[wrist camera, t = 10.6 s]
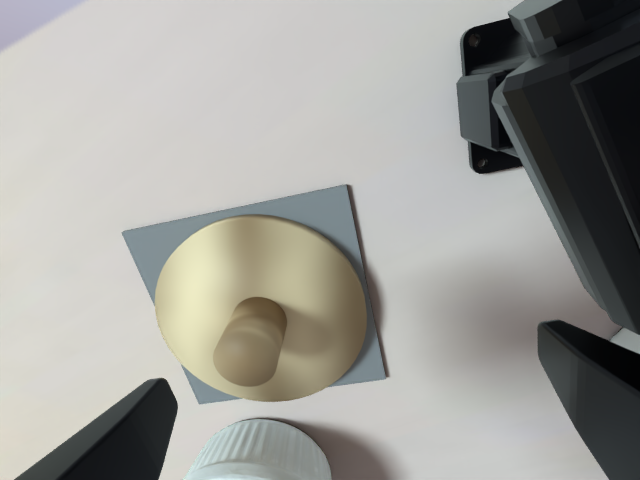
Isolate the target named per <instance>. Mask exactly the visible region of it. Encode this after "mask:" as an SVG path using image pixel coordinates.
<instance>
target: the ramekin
mask: <svg viewBox="0 0 640 480" xmlns="http://www.w3.org/2000/svg"><path fill="white" fill-rule="evenodd" d="M182 480H332V478H331V470H330V466H329V463H328V460H327V459H326V456H325V454H324V453H323V452H322V450H321V449H320V447H319V446H318V445H317V444H316V443H315V442H314V441H313V440H312V439H311V438H310V437H309V436H308V435H307V434H305V433H304V432H302V431H301V430H299V429H297V428H295V427H293V426H291V425H289V424H286V423H283V422H279V421H275V420H268V419H251V420H245V421H241V422H237V423H234V424H232V425H230V426H228V427H226V428H224V429H222V430H220V431H219V432H217V433H216V434H214V435H213V437H212V438H210V439H209V441H208V442H207V443H206V445H205V446H204V447H203V449H202V451H201V452H200V454H199V455H198V457H197V458H196V460H195V462H194V463H193V465H192V466H191V468H190V469H189V471H188V473H187V474H186V476H185V478H184V479H182Z"/></svg>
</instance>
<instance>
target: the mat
mask: <svg viewBox="0 0 640 480" xmlns="http://www.w3.org/2000/svg"><path fill="white" fill-rule="evenodd" d="M245 214H263V215H272V216H278V217H282V218H286V219H290V220H293V221H296V222H298V223H301V224H304V225H306V226H307V227H309V228H311V229H313V230H315V231H317V232H318V233H320V234H321V235H323V236H324V237H326V238H327V239H329V240H330V241H331V242H332V243H333V244H334V245H335V246H336V247H337V248H339V249H340V251H341V252H342V253H343V254H344V255H345V256H346V258H347V259H348V260H349V262H350V263H351V265H352V266H353V268H354V269H355V271H356V273H357V275H358V278H359V280H360V282H361V285H362V289H363V292H364V297H365V304H366V313H367V327H366V333H365V339H364V342H363V345H362V348H361V350H360V352H359V354H358V356H357V358H356V360H355V361H354V362H353V364H352V365H351V367H350V368H349V369H348V370H347V371H346V372H345V373H344V374H343V375H342V376H341V377H340V378H339V379H338V380H336V381H335V382H334V383H333V384H331V385H330V386H328V387H332V386H339V385H347V384H354V383H362V382H369V381H376V380H384V379H386V377H385V371H384V367H383V362H382V357H381V352H380V347H379V342H378V337H377V332H376V327H375V323H374V318H373V313H372V308H371V303H370V298H369V293H368V288H367V283H366V278H365V274H364V269H363V264H362V259H361V254H360V249H359V244H358V239H357V234H356V229H355V225H354V220H353V215H352V210H351V205H350V200H349V195H348V190H347V185H341V186H336V187H331V188H327V189H322V190H317V191H312V192H308V193H303V194H298V195H293V196H288V197H284V198H279V199H274V200H269V201H265V202H260V203H255V204H250V205H246V206H241V207H236V208H231V209H227V210H222V211H217V212H212V213H207V214H203V215H198V216H193V217H188V218H184V219H179V220H174V221H169V222H165V223H160V224H155V225H150V226H146V227H141V228H136V229H131V230H126V231H124V232H122V235H123V237H124V239H125V242H126V244H127V246H128V248H129V250H130V253H131V255H132V257H133V259H134V261H135V264H136V266H137V268H138V270H139V272H140V275H141V277H142V279H143V281H144V284H145V286H146V288H147V290H148V292H149V295H150V297H151V299H152V301H153V303H154V306H155V291H156V286H157V282H158V278H159V276H160V273H161V271H162V268H163V267H164V265H165V263H166V262H167V260H168V258H169V257H170V256H171V255H172V253H173V252H174V251H175V250H176V249H177V248H178V247H179V246H180V245H181V244H182V243H183V242H184V241H185V240H186V239H187V238H189V237H190V236H191V235H192V234H193V233H195V232H196V231H198V230H199V229H201V228H203V227H204V226H206V225H208V224H210V223H213V222H215V221H217V220H220V219H224V218H227V217H231V216H238V215H245ZM181 365H182V364H181ZM182 368H183V370H184V372H185V374H186V376H187V379H188V381H189V383H190V385H191V388H192V390H193V392H194V394H195V396H196V399H197V401H198V403H199V404H205V403H213V402H220V401H228V400H235V399H243V398H239V397H236V396H233V395H230V394H226V393H224V392H222V391H220V390H217V389H215V388H213V387H211V386H210V385H208V384H206V383H204V382H203V381H201V380H200V379H198V378H197V377H196V376H194V375H193V374H192V373H191V372H189V371H188V370H187V369H186V368H185V367H184V366H183V365H182Z"/></svg>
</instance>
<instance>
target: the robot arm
mask: <svg viewBox="0 0 640 480" xmlns="http://www.w3.org/2000/svg"><path fill="white" fill-rule="evenodd" d="M508 15H509V17H510V18H508V19H504V20H500V21H496V22H492V23H488V24H484V25H480V26H476V27H473V28H471V29H469V30H467V31H466V32H465V33H464V34H463V35H462V37H461V41H460V49H461V61H462V74H463V77H461V78H460V79H459V81H458V82H457V96H458V108H459V120H460V131H461V137H462V138H464V139H465V140H467V141H468V150H469V163H470V167H471V169H472V170H473V171H475V172H476V173H479V174H484V173H489V172H494V171H499V170H504V169H509V168H513V167H518V166H524V168H525V170H526V172H527V174H528V176H529V178H530V180H531V182H532V184H533V186H534V188H535V190H536V192H537V194H538V196H539V198H540V200H541V202H542V204H543V206H544V208H545V210H546V212H547V214H548V216H549V218H550V220H551V222H552V224H553V226H554V228H555V230H556V232H557V234H558V236H559V238H560V240H561V242H562V244H563V246H564V248H565V250H566V252H567V254H568V256H569V258H570V260H571V262H572V264H573V266H574V268H575V270H576V272H577V274H578V276H579V278H580V280H581V282H582V284H583V286H584V288H585V289H586V290H587V292H588V293H589V294H590V295H591V296H592V298H593V299H594V300H595V301H596V302H597V304H598V305H599V306H600V307H601V308H602V309H604V310H605V311H607V313H608V315H609V317H610V319H611V320H612V321H613V322H614V323H616V324H618V325H620V326H622V327H624V328H626V329H628V330H630V331H632V332H634V333H636V334H638V335H640V0H524V1H523V2H521V3H520V4H519V5H517V6H516V7H514V8H513V9H511V10H510V11H509V12H508ZM471 35H475V36H476V37H477V39H478V40H477V44H476V45H475V46H471V45H470V44H469V37H470V36H471ZM482 158H484V159H485V164H484V165H483V166H482V167H478V165H477V164H478V161H479V160H480V159H482ZM537 331H538V356H539V360H540V362H541V364H542V366H543V368H544V370H545V372H546V374H547V376H548V378H549V379H550V381H551V383H552V385H553V387H554V389H555V391H556V393H557V395H558V397H559V399H560V400H561V402H562V404H563V406H564V408H565V410H566V412H567V414H568V416H569V418H570V419H571V421H572V423H573V425H574V427H575V428H576V430H577V432H578V433H579V435H580V436H581V438H582V439H583V441H584V443H585V444H586V446H587V447H588V449H589V450H590V452H591V453H592V455H593V456H594V458H595V459H596V461H597V462H598V464H599V465H600V467H601V468H602V470H603V471H604V473H605V474H606V476H607V477H608V479H609V480H640V354H638V353H636V352H634V351H631V350H629V349H627V348H624V347H622V346H620V345H617V344H615V343H613V342H610V341H608V340H606V339H603V338H601V337H599V336H596V335H594V334H592V333H589V332H587V331H585V330H582V329H580V328H578V327H575V326H573V325H571V324H568V323H566V322H564V321H561V320H551V321H544V322H540V323H539V324H538V329H537ZM177 410H178V404H177V401H176V398H175V396H174V394H173V392H172V390H171V388H170V386H169V384H168V382H167V380H166V379H164V378H157V379H150V380H147V381H146V382H144V383H143V384H142V385H140V386H139V387H138V388H136V389H135V390H134V391H132V392H131V393H130V394H128V395H127V396H126V397H124V398H123V399H121V400H120V401H119V402H117V403H116V404H115V405H113V406H112V407H111V408H109V409H108V410H107V411H105V412H104V413H103V414H101V415H100V416H99V417H97V418H96V419H95V420H93V421H92V422H91V423H89V424H88V425H87V426H85V427H84V428H83V429H81V430H80V431H79V432H77V433H76V434H75V435H73V436H72V437H71V438H69V439H68V440H67V441H65V442H64V443H62V444H61V445H60V446H58V447H57V448H56V449H54V450H53V451H52V452H50V453H49V454H48V455H46V456H45V457H44V458H42V459H41V460H40V461H38V462H37V463H36V464H34V465H33V466H32V467H30V468H29V469H28V470H26V471H25V472H24V473H22V474H21V475H20V476H18V477H17V478H16V479H14V480H158V479H159V476H160V473H161V470H162V467H163V463H164V460H165V456H166V452H167V448H168V445H169V441H170V437H171V434H172V430H173V426H174V422H175V419H176V415H177Z"/></svg>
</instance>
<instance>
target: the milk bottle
mask: <svg viewBox="0 0 640 480" xmlns="http://www.w3.org/2000/svg"><path fill="white" fill-rule="evenodd" d="M610 342H613V343H615V344H617V345H620V346H622V347H624V348H627V349H629V350H631V351H634V352H636V353H638V354H640V335H638V334H636V333H634V332H632V331H630V330H628V329H626V328H622V329H621V330H620V331H619V332H618V333H617V334H616V335H614V336H613V337H612V339H611V340H610Z"/></svg>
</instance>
